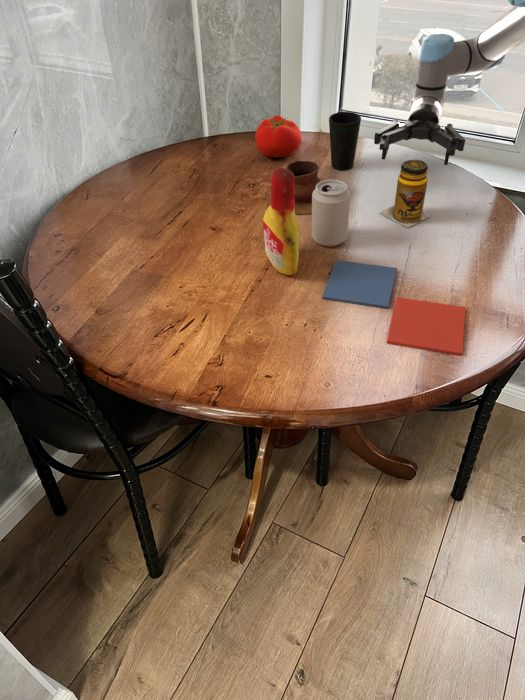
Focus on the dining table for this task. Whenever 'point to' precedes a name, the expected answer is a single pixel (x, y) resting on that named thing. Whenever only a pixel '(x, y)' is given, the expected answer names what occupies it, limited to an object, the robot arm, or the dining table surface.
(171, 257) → the dining table surface
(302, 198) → the ceramic pot
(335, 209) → the can
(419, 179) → the condiment
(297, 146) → the tomato
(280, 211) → the bottle
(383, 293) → the mat blue
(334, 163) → the cup
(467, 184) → the dining table surface
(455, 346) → the mat red
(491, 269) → the dining table surface
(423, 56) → the robot arm
